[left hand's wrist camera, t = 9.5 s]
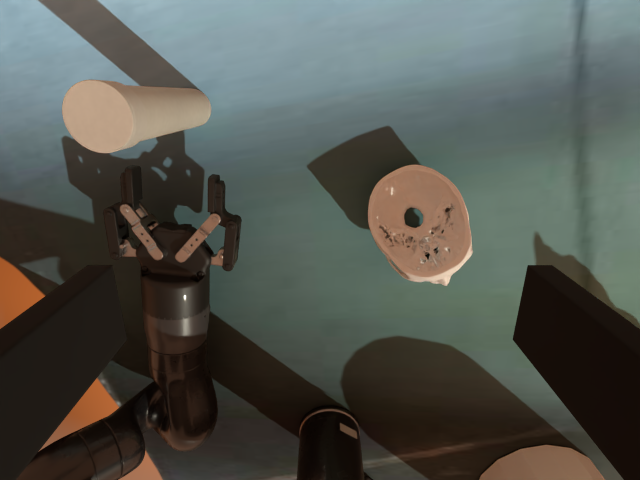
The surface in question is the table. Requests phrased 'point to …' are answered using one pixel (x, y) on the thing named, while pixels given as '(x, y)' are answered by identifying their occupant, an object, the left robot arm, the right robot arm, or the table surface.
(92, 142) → the lid
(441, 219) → the skull bowl
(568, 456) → the container
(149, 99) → the slender beige bottle
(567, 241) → the table surface
